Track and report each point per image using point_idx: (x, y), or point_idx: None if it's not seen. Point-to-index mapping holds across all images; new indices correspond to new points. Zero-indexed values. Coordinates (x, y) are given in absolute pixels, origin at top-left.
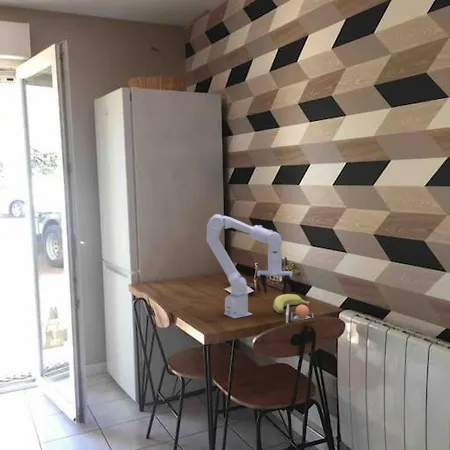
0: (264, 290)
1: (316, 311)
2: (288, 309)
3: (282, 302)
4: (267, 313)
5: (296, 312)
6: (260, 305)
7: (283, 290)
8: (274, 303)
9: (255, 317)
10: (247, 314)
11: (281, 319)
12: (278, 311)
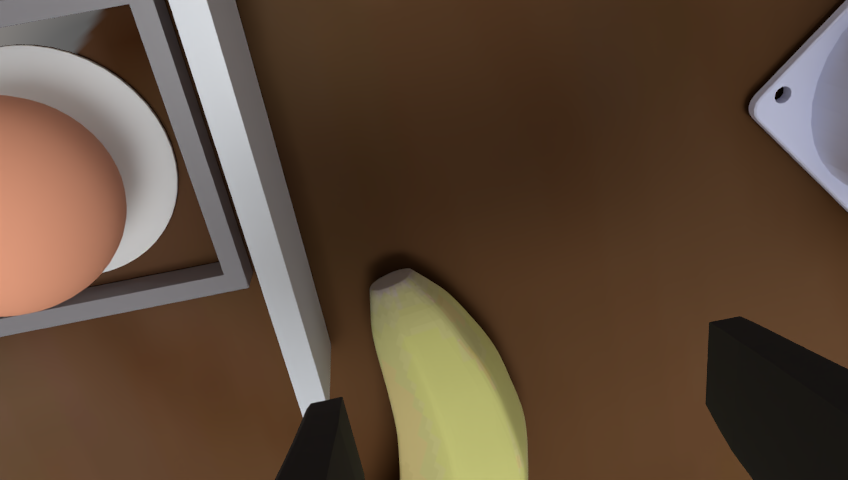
0: (790, 341)
1: (9, 473)
2: (226, 177)
3: (414, 469)
4: (556, 233)
5: (78, 132)
6: (669, 472)
7: (325, 443)
8: (512, 417)
9: (693, 13)
10: (817, 54)
11: (317, 25)
12: (424, 279)
